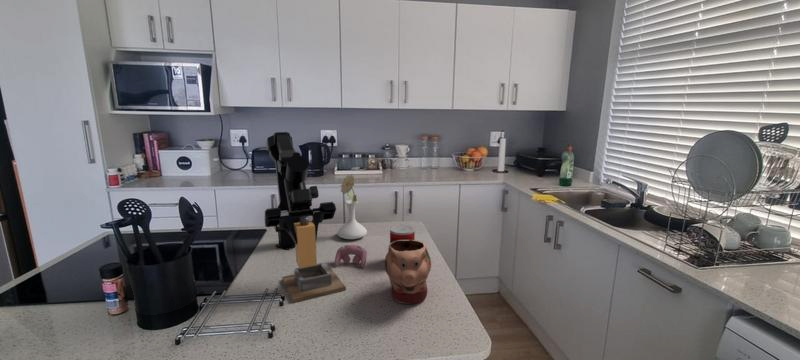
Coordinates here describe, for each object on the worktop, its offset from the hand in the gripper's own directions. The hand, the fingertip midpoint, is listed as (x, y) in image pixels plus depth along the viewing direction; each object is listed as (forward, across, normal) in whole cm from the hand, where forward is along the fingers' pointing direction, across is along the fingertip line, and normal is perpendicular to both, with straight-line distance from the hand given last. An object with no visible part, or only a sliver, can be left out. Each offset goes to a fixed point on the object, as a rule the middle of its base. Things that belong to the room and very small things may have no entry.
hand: (306, 241), depth 96 cm
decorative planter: (+19, +24, 0) cm, 30 cm away
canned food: (+6, +31, +13) cm, 34 cm away
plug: (+4, 0, +6) cm, 7 cm away
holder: (+8, +2, +10) cm, 14 cm away
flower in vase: (-14, +23, +33) cm, 43 cm away
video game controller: (+3, +15, +17) cm, 23 cm away
